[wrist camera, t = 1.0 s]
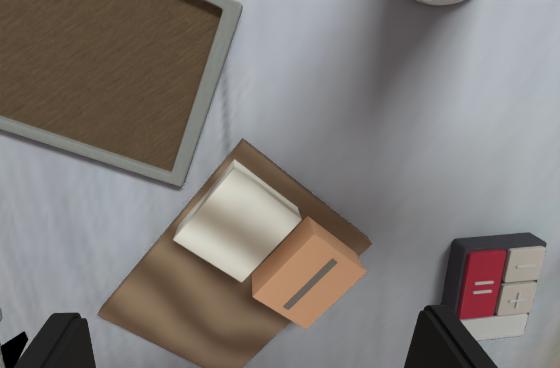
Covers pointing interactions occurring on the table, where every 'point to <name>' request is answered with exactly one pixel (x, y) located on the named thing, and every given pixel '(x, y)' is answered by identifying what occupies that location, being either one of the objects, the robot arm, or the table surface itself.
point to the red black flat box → (493, 282)
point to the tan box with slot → (306, 274)
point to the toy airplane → (12, 350)
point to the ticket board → (209, 291)
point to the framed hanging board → (114, 77)
